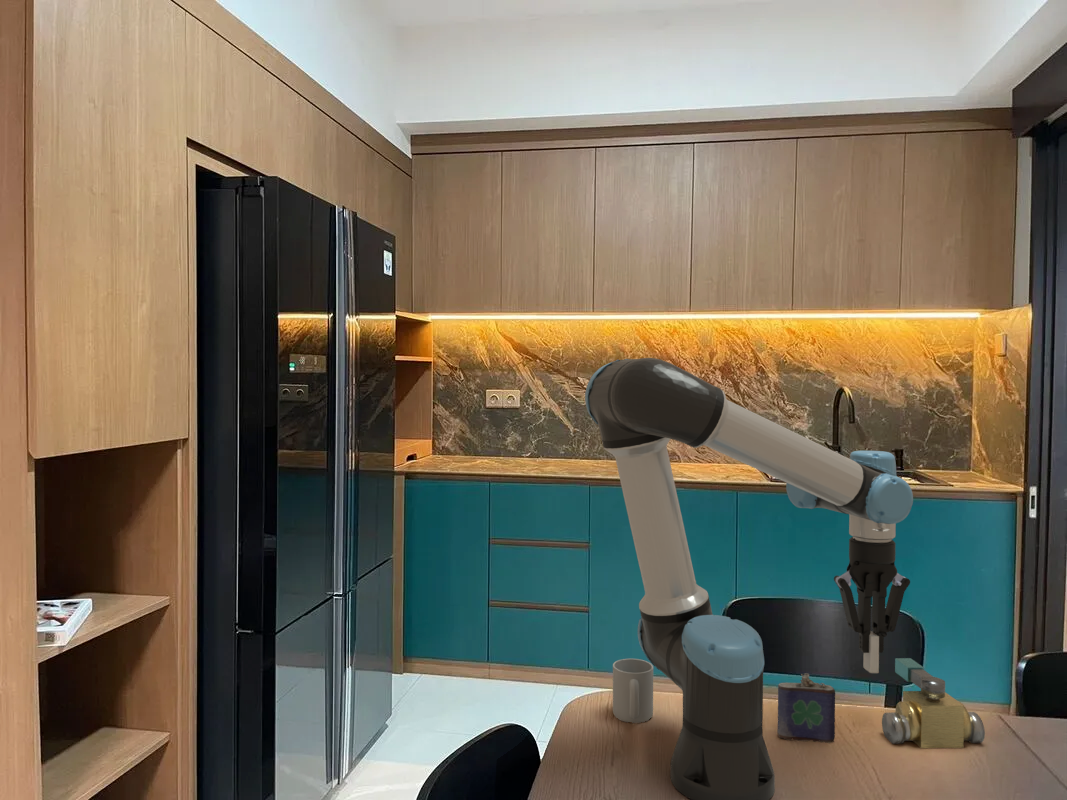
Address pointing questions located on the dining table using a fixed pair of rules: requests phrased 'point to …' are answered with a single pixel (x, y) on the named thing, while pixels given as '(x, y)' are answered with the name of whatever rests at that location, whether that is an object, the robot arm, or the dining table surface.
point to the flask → (806, 711)
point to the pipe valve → (932, 722)
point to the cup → (633, 690)
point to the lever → (920, 677)
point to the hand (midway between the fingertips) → (870, 670)
